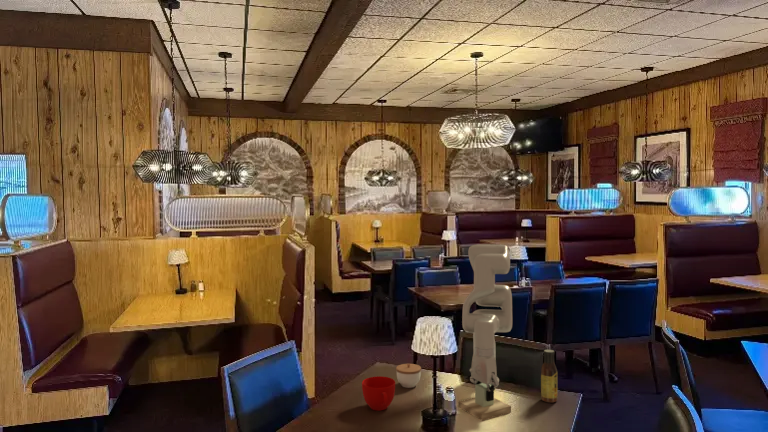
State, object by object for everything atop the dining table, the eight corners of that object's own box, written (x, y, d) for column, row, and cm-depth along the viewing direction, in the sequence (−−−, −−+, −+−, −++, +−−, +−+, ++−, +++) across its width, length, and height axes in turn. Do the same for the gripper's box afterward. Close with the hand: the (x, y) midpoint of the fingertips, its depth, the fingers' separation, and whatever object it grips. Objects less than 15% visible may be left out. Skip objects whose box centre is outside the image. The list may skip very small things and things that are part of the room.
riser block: (458, 408, 213) (458, 401, 213) (486, 401, 220) (486, 394, 220) (482, 422, 201) (482, 414, 201) (511, 413, 208) (511, 406, 208)
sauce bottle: (558, 403, 215) (558, 353, 214) (541, 402, 216) (541, 353, 215) (556, 397, 222) (556, 349, 220) (540, 396, 223) (540, 348, 222)
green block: (475, 402, 211) (475, 384, 211) (485, 400, 214) (485, 382, 213) (483, 407, 207) (483, 388, 207) (493, 404, 209) (493, 386, 209)
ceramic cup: (369, 420, 202) (368, 393, 202) (359, 402, 218) (358, 378, 218) (402, 415, 206) (402, 389, 205) (390, 399, 222) (390, 374, 221)
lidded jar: (423, 382, 241) (423, 360, 240) (418, 390, 231) (418, 368, 230) (399, 379, 244) (399, 359, 243) (393, 388, 234) (393, 366, 233)
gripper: (462, 347, 215) (462, 392, 216) (491, 358, 200) (491, 407, 201) (477, 344, 219) (477, 388, 220) (507, 355, 204) (507, 403, 205)
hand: (484, 397), depth 210 cm, fingers open, 5 cm apart
